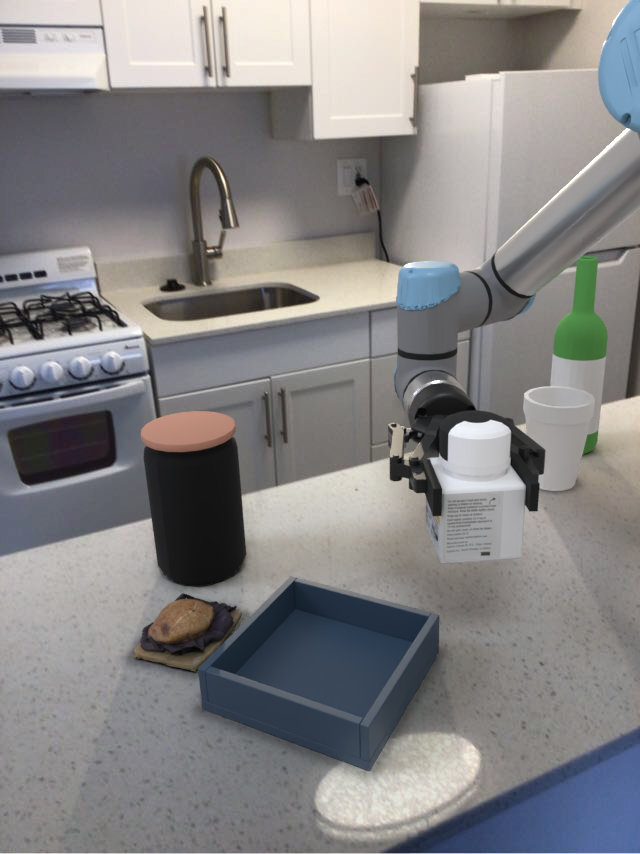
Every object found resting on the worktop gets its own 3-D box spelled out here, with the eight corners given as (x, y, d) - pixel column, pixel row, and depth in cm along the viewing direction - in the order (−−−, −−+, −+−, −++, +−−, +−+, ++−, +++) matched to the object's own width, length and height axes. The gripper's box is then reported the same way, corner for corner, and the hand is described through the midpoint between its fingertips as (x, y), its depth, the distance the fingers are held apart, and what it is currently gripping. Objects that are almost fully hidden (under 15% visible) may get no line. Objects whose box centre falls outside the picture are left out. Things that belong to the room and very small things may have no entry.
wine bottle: (578, 461, 116) (597, 263, 105) (535, 447, 122) (549, 258, 111) (606, 447, 121) (626, 256, 110) (563, 434, 126) (579, 252, 115)
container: (424, 526, 77) (426, 406, 73) (499, 521, 78) (505, 401, 73) (440, 565, 70) (443, 435, 65) (522, 560, 70) (531, 430, 66)
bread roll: (199, 677, 73) (195, 645, 71) (125, 658, 76) (121, 627, 74) (249, 614, 82) (246, 585, 81) (181, 599, 85) (178, 571, 83)
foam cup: (590, 473, 112) (598, 390, 107) (582, 500, 104) (591, 411, 99) (524, 464, 115) (530, 383, 111) (512, 489, 108) (517, 403, 103)
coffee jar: (264, 556, 93) (255, 420, 86) (206, 599, 85) (190, 452, 78) (200, 535, 99) (186, 405, 92) (139, 573, 90) (119, 433, 84)
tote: (439, 652, 75) (439, 614, 73) (369, 771, 61) (368, 727, 59) (293, 611, 82) (291, 575, 80) (202, 709, 68) (197, 668, 67)
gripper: (526, 438, 90) (598, 531, 68) (351, 446, 89) (369, 543, 68) (530, 377, 87) (606, 455, 66) (350, 386, 87) (368, 467, 65)
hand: (486, 500), depth 67 cm, fingers closed on container, 8 cm apart
